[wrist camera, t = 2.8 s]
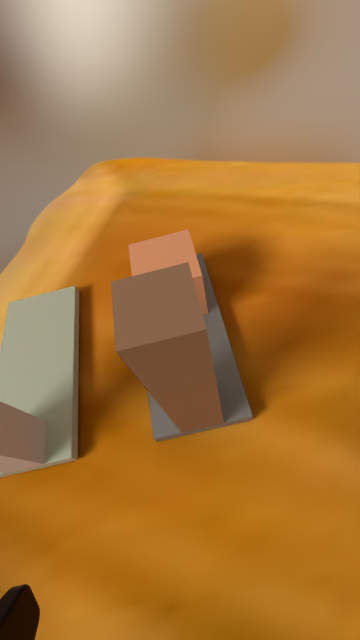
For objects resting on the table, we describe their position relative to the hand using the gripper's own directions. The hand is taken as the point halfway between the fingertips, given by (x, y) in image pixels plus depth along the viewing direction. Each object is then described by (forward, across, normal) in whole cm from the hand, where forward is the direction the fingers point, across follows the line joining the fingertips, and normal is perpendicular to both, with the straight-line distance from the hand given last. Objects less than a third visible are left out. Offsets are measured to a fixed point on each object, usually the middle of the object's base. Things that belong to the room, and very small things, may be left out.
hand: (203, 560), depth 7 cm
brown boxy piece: (+19, 0, -1) cm, 19 cm away
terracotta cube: (+20, 0, -4) cm, 21 cm away
